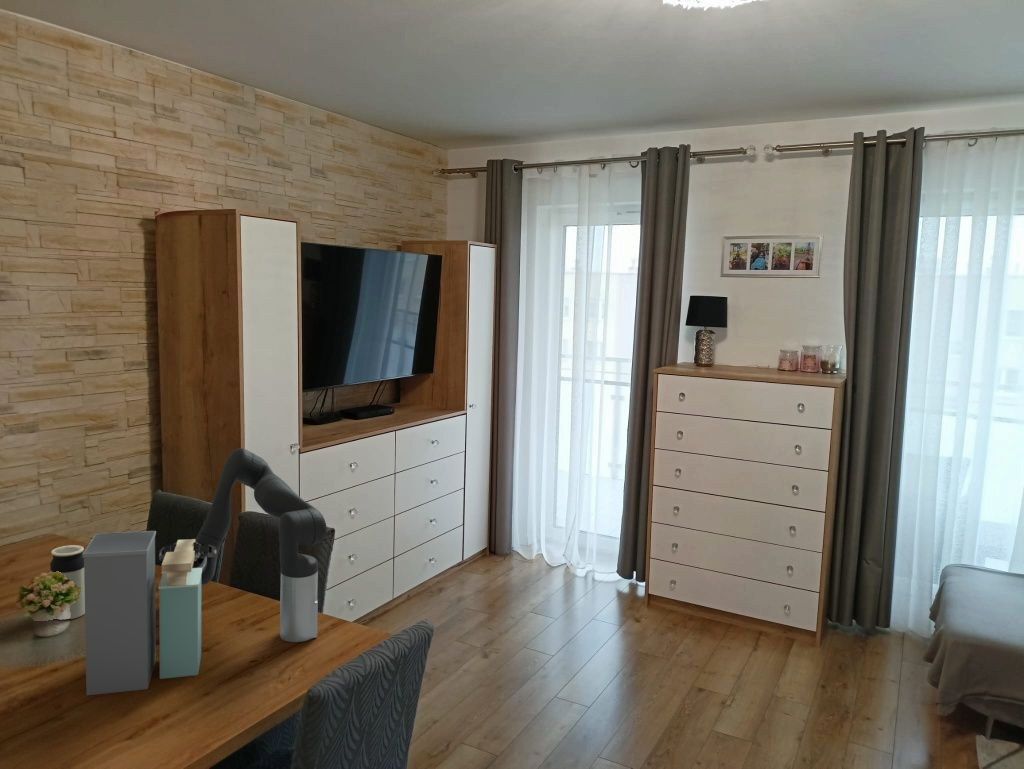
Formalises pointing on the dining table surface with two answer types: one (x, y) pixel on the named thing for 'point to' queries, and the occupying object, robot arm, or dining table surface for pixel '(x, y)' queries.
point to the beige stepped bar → (179, 563)
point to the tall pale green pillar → (180, 626)
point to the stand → (120, 611)
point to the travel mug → (71, 572)
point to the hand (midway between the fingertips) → (184, 546)
